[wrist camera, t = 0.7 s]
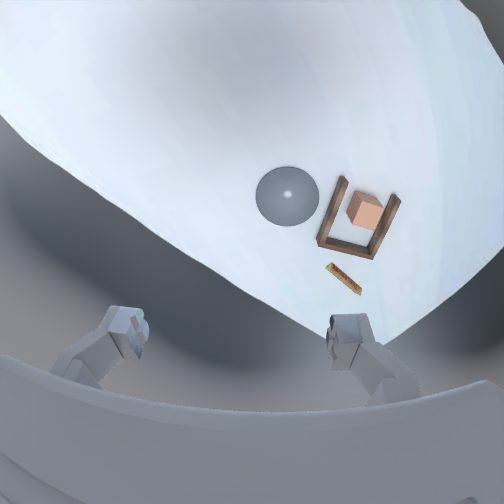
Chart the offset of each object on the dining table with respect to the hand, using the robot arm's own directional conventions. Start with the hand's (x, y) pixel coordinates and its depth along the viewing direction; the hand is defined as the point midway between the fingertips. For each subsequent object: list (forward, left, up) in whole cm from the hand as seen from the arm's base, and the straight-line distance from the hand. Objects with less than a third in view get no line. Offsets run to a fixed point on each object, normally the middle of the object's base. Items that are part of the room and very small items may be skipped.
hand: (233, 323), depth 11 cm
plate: (+11, +8, -43) cm, 44 cm away
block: (+8, +23, -43) cm, 49 cm away
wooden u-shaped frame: (+11, +23, -43) cm, 49 cm away
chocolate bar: (+27, +27, -43) cm, 57 cm away
